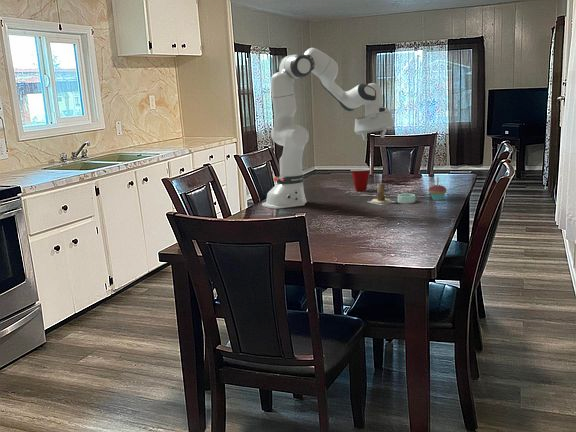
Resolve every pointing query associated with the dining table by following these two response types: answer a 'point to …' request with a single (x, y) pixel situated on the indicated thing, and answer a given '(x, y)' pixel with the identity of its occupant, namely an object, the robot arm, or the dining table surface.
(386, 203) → the mat
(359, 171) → the plastic cup
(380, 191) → the lid
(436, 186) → the cupcake
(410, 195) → the bowl
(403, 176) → the dining table surface
